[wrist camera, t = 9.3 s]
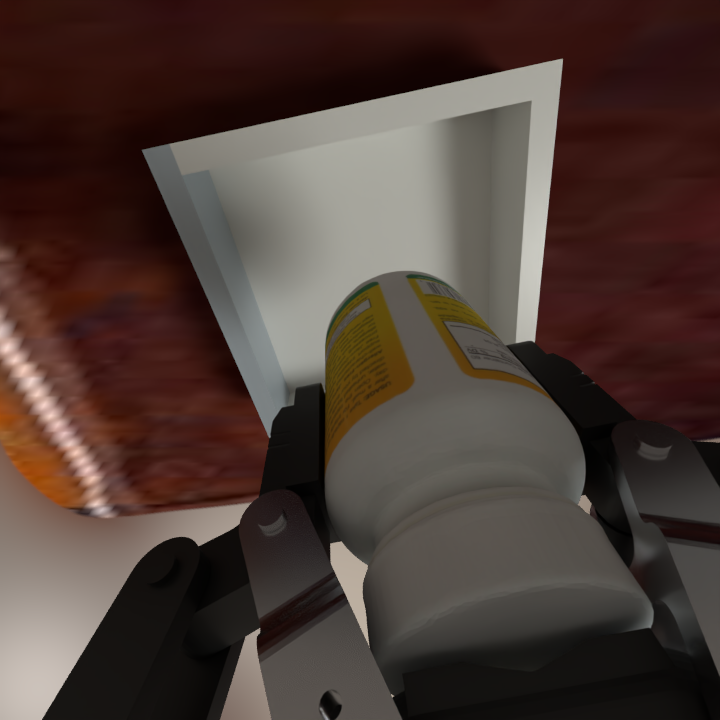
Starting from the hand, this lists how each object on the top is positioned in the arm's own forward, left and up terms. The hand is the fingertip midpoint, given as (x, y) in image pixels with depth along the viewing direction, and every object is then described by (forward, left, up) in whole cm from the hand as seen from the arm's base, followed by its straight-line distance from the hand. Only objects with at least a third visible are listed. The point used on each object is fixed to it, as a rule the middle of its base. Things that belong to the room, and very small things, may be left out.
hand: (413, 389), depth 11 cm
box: (0, 0, -11) cm, 11 cm away
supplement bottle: (0, 0, -3) cm, 3 cm away
